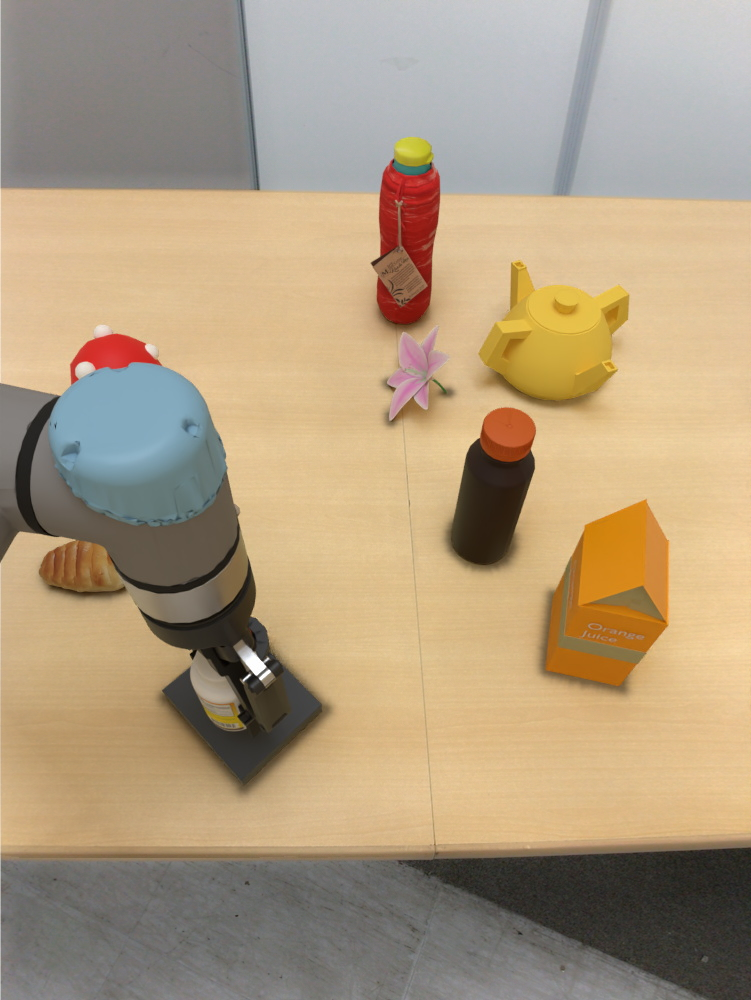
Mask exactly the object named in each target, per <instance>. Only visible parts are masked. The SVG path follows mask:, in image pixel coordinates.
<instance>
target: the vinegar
mask: <svg viewBox="0 0 751 1000" xmlns="http://www.w3.org/2000/svg"><path fill="white" fill-rule="evenodd" d="M536 435H537V426H536V424H535V421H534V419H533V418H532V417H531V416H530V414H528V413H526V412H524V411H523V410H522V409H518V408H515V407H511V406H510V407H507V406H503V407H499V408H494V409H493V410H491V411H490V412H489V413H487V414H486V415H485V417H484V418H483V421H482V425H481V429H480V433H479V437H478V438H477V439H476V440H474V442H473V443H472V444H470V446H469V448H468V450H467V452H466V454H465V459H464V464H463V469H462V474H461V480H460V483H459V489H458V493H457V500H456V504H455V510H454V515H453V520H452V526H451V530H450V541H451V544H452V547H453V549H454V550H455V552H456V553H457V554H458V555H459V556H460V557H461V558H462V559H464V560H466V561H467V562H470V563H473V564H475V565H476V564H478V565H489V564H493V563H495V562H498V561H499V560H501V559H502V558H503V557H504V556H505V555H506V554H507V553H508V552H509V550H510V549H509V548H510V546H511V543H512V541H513V538H514V534H515V531H516V528H517V525H518V522H519V519H520V516H521V513H522V510H523V507H524V503H525V501H526V497H527V494H528V492H529V489H530V486H531V482H532V480H533V476H534V473H535V470H536V458H535V455H534V454H533V452H532V451H533V450H532V447H533V444H534V441H535V438H536Z"/></svg>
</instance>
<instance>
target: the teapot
mask: <svg viewBox="0 0 751 1000" xmlns="http://www.w3.org/2000/svg"><path fill="white" fill-rule="evenodd" d="M509 292H510V293H509V296H510V297H509V311H508V312H507V313H506V315H505V316H504V317H503V318H502V320H501V321H495V322H494V324H493V326H492V327H491V330H490V331H489V333H488V335H487V336H486V338H485V340H484V342H483V344H482V346H481V347H480V349H479V351H478V353H477V355H478V357H479V358H480V359H481V361H482V363H483V364H484V366H486V367H487V368H490V369H491V370H493V371H495V372H497V373H498V374H500V375H501V376H502V377H503V378H504V380H506V381H507V382H508V383H509V384H510V385H511V386H512V387H514V388H515V389H516V390H518V391H519V392H521V393H523V394H525V395H526V396H529V397H531V398H534V399H538V400H542V401H554V402H555V401H565V400H571V399H575V398H578V397H581V396H583V395H586V394H590V393H594V392H596V391H598V390H599V389H600V388H601V387H602V386H603V385H604V384H605V383H606V382H607V381H608V380H609V379H610V378H612V377H613V376H614V375H615V374H616V373H617V372H618V371H619V369H618V367H617V366H616V364H615V363H614V362H613V360H612V356H613V340H612V335H614V334H615V333H616V331H618V330H619V329H620V328H621V327H622V326H623V325H624V324H625V323H626V322H627V321H628V320H629V312H630V310H629V309H630V293H629V292H628V291H627V290H626V289H625V288H624V287H623V286H621V285H620V284H618V285H615V286H613V287H611V288H609V289H607V290H606V291H604V292H602V293H600V294H598V295H596V296H591V295H590V294H589V293H588V292H586V291H584V290H582V289H581V288H578V287H575V286H571V285H566V284H552V285H545V286H542V287H540V288H538V289H536V288H535V286H534V283H533V281H532V279H531V276H530V273H529V271H528V266H527V265H526V264H525V263H524V262H523V261H521V259H517V260H514V261H511V262H510V291H509Z"/></svg>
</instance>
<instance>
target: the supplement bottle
mask: <svg viewBox="0 0 751 1000" xmlns="http://www.w3.org/2000/svg"><path fill="white" fill-rule="evenodd" d="M254 653H255V654H256V652H254ZM256 655H257V654H256ZM190 666H191V669H190V678H191V682H192V685H193V688H194V690H195V692H196V694H197V695H198V697H199V699H200V701H201V703H202V705H203V707H204V709H205V711H206V713H207V715H208V717H209V718H210V720H211V721H212V722H213V723H214V724H215V725H216V726H218V727H219V728H221V729H224V730H227V731H240V730H244V729H247V728H246V726H245V725H244V724H243V723H242V722H241V721H240V720H239V719H238V717H237V716H238V715H239V714H240V711H239V708H238V706H239V705H240V704H241V703H240V701H239V700H238V698H237V696H236V695H235V693H234V691H233V690H232V688H231V686H230V684H229V683H228V681H227V679H226V678H225V676H224V677H221V676H220V675H219V674H218V673H217V672H216V671H215V670H214V669H213V668H212V667H211V666H210V665H209V663H208V661H207V660H206V658H205V657H204V656H203V655H202V654H201V653H200V652H199V651H198V650H197V652H196V655H195V657H194V659H193V660H192V661H191V665H190Z"/></svg>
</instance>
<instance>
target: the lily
mask: <svg viewBox="0 0 751 1000" xmlns="http://www.w3.org/2000/svg"><path fill="white" fill-rule="evenodd" d="M439 329H440V324H437V325H435V326H434V328H432V329H431V330H430V332H429V333H428V334H427V335H426V337H424V339H423V341H422V342H421V344H420V343H419V342H418V341H417V340H416V339H415V338H414V337H413V336H412V335H410V334H409V333H408V332H406V331H403V332H402V333H401V335H400V339H399V345H398V362H399V366H400V367H399V368H397V369H396V370H395V371H394V372H393V373H392V374H391V375H390V377H389V378H388V379H387V382H386V383H387V385H388V386H390V387H392V388H395V390H394V391H393V394H392V398H391V401H390V407H389V413H388V421H389V422H392V420H394V418H395V417H396V416H397V415H398V413H400V411H401V410H402V409H403V407H404V406H405V405H406V404H407V403H408V402H409V401H410V400H411V399H412V397H413V399H414V401H415V402H416V404H418V406H420V407H421V408H422V409H424V410H428V408H429V395H430V393H429V392H430V390H429V389H430V381H432V382H434V383H435V384H436V385H437V386H438V387H440V389H441V390H442V391H443V392H444V394H448V391H447V389H445V387H444V386H443V385H442V384H441V383H440V382H439V381H438V380H437V379H435V378H434V377H433V375H434V374H435V373H437V372H438V371H439V370H440V369H441V368H442V367H443V366H444V365H446V363H447V362H448V361H449V360H450V358H451V357H450V355H449V354H447V352H443V351H441V350H437V349H435V345H436V340H437V337H438V332H439Z"/></svg>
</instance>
